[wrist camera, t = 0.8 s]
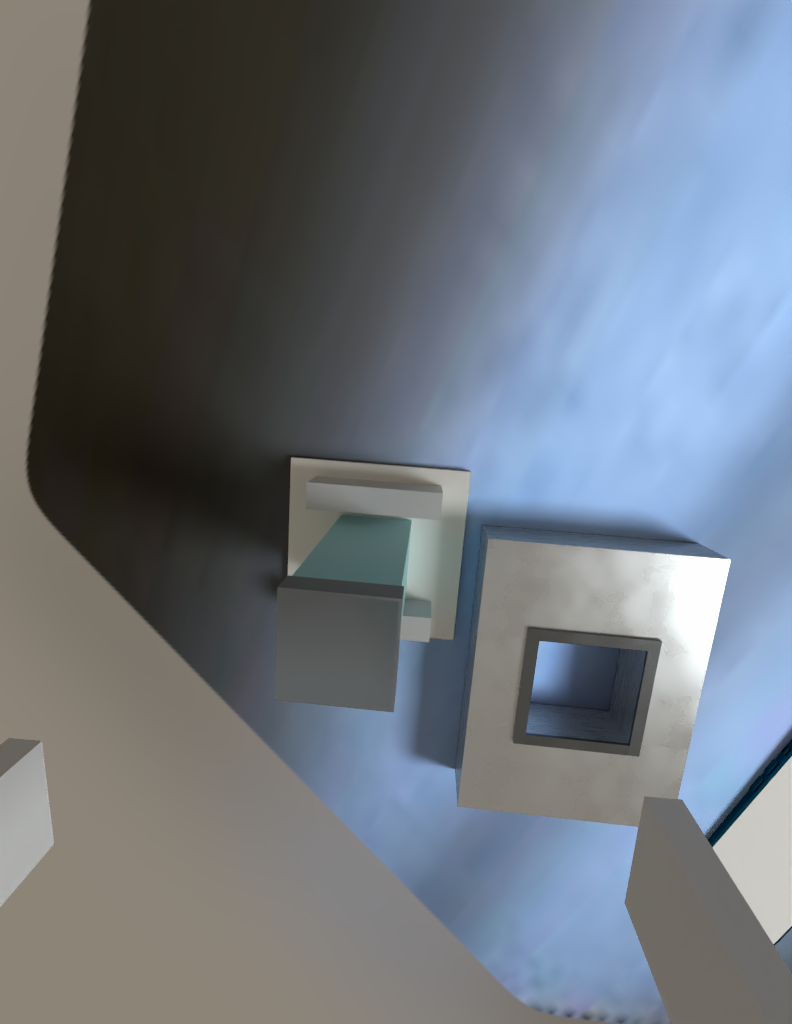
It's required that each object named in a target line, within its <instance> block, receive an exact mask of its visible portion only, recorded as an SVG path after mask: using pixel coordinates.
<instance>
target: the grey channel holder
mask: <svg viewBox="0 0 792 1024" xmlns="http://www.w3.org/2000/svg"><path fill="white" fill-rule="evenodd" d="M470 474H471V472H470V471H462V470H449V469H437V468H424V467H412V466H399V465H387V464H374V463H362V462H349V461H337V460H324V459H312V458H299V457H291V473H290V509H289V544H288V576H292V575H293V574H294V573H295V571H296V570H297V569H298V568H299V566H300V565H301V564H302V563H303V562H304V560H305V559H306V558H307V557H308V555H309V554H310V553H311V552H312V550H313V549H314V548H315V547H316V546H317V544H318V543H319V542H320V541H321V539H322V538H323V537H324V536H325V534H326V533H327V532H328V531H329V529H330V528H331V527H332V526H333V525H334V523H335V522H336V521H337V520H338V518H339V517H340V516H341V515H352V516H363V517H375V518H387V519H399V520H410V521H412V525H411V537H410V549H409V562H408V574H407V586H406V595H405V602H404V610H403V618H402V626H401V634H400V640H409V641H420V642H429V638H435V639H445V640H453V637H454V628H455V618H456V608H457V599H458V589H459V580H460V570H461V561H462V551H463V541H464V532H465V522H466V513H467V503H468V493H469V484H470Z"/></svg>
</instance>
